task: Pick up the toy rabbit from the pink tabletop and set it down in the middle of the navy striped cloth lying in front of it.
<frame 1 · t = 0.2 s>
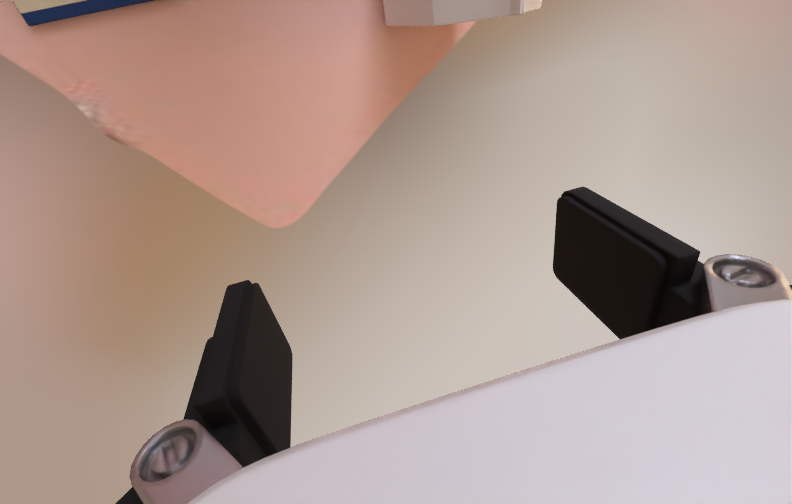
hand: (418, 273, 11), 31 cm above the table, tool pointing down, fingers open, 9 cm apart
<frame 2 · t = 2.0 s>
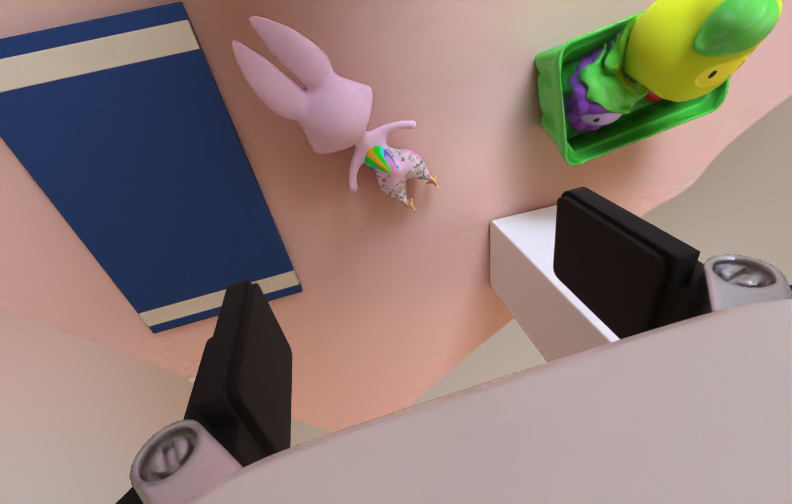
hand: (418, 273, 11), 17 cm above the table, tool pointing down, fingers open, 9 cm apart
cloth: (166, 199, 24), on the table
milk carton: (524, 243, 33), on the table
rabbit figure: (347, 122, 25), on the table
fruit basket: (592, 62, 26), on the table
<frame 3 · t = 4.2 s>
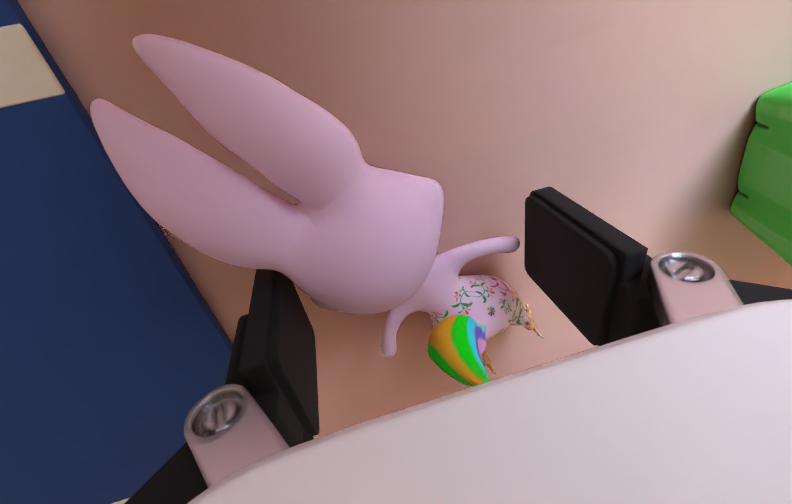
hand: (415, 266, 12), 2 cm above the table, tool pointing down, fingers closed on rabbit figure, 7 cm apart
cloth: (43, 372, 13), on the table
rabbit figure: (380, 229, 13), on the table, touching gripper
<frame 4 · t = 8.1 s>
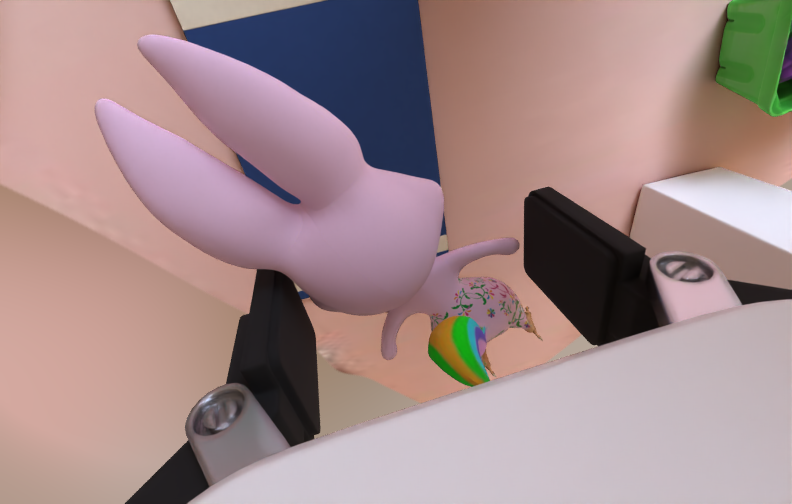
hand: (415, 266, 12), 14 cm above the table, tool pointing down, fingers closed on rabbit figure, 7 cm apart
cloth: (341, 152, 23), on the table
milk carton: (665, 211, 32), on the table
rabbit figure: (380, 231, 13), point 12 cm above the table, touching gripper
fruit basket: (778, 11, 25), on the table
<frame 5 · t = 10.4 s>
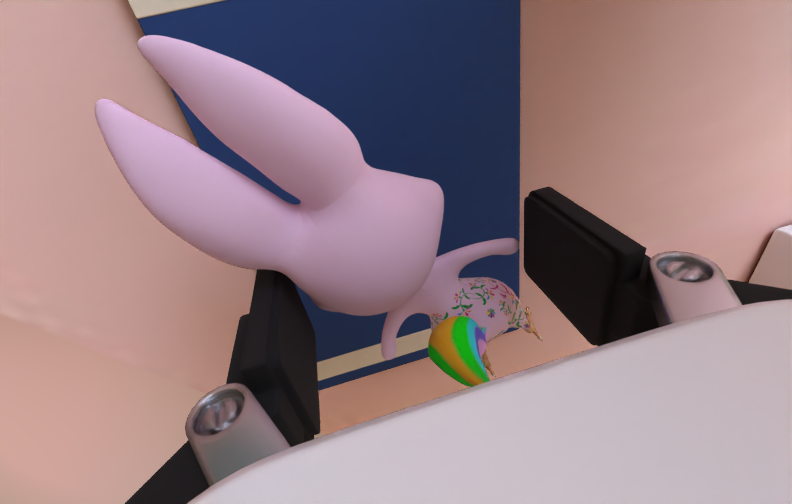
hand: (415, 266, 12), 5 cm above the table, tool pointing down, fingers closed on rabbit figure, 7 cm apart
cloth: (385, 200, 16), on the table
rabbit figure: (380, 231, 13), point 3 cm above the table, touching gripper
when the fingers open (2 cm above the table, at t = 11.9 s): rabbit figure stays where it is, resting on cloth.
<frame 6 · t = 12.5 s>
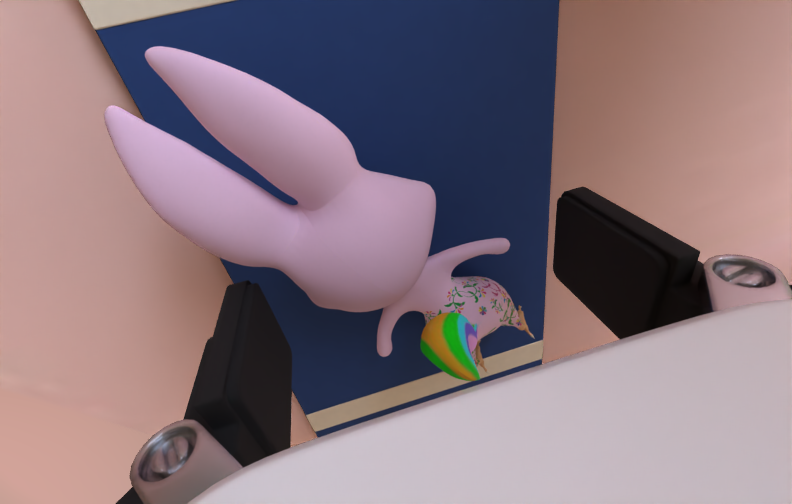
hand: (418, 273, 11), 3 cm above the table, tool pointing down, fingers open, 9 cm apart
cloth: (396, 234, 14), on the table
rabbit figure: (376, 232, 13), resting on cloth
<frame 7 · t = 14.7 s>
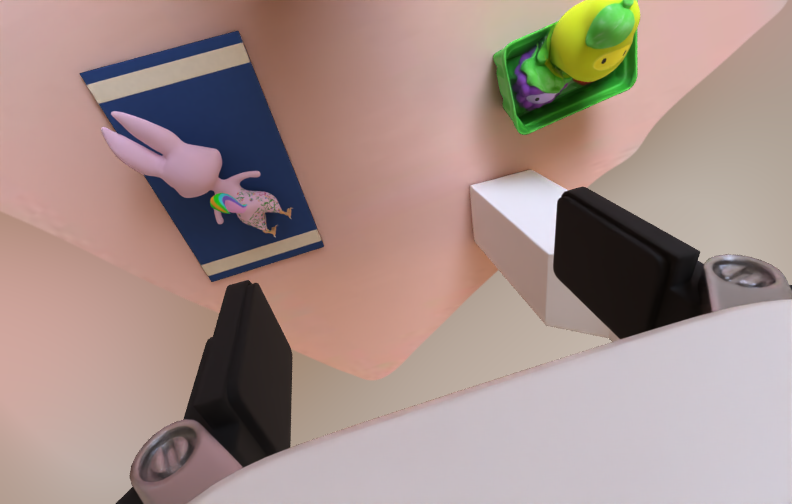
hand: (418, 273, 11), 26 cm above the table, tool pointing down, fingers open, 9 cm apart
cloth: (223, 173, 33), on the table
milk carton: (500, 205, 42), on the table
rabbit figure: (212, 172, 33), resting on cloth
fruit basket: (538, 57, 34), on the table
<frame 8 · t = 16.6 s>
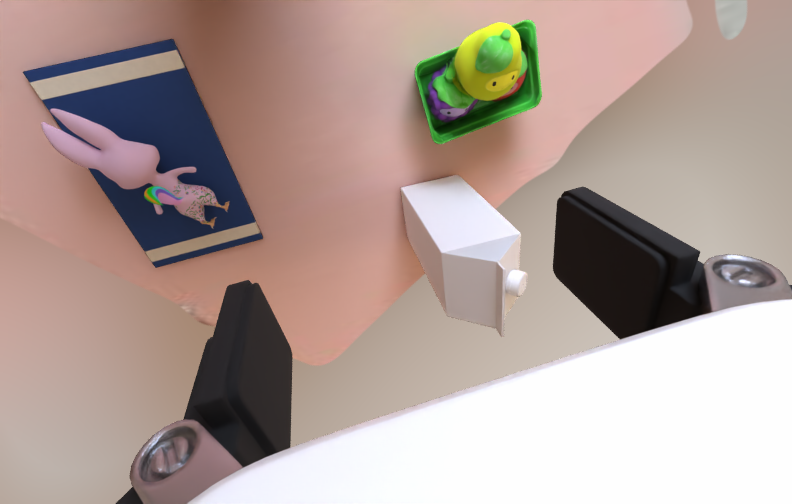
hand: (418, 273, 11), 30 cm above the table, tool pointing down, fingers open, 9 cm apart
cloth: (163, 168, 36), on the table
milk carton: (431, 206, 45), on the table
rabbit figure: (153, 166, 36), resting on cloth
fruit basket: (459, 73, 38), on the table
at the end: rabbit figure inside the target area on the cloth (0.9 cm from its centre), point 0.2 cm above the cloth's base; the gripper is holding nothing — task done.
